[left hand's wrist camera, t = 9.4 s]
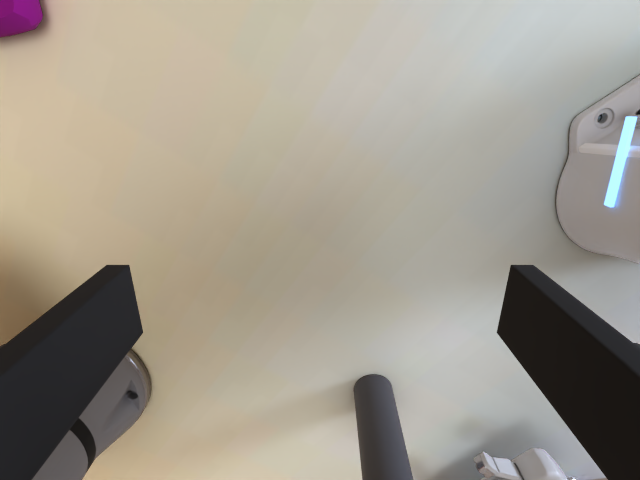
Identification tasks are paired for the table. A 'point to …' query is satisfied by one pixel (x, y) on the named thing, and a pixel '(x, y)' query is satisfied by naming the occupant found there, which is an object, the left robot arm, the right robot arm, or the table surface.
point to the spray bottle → (19, 16)
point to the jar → (380, 431)
